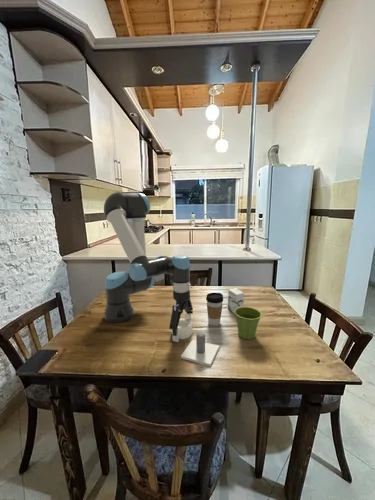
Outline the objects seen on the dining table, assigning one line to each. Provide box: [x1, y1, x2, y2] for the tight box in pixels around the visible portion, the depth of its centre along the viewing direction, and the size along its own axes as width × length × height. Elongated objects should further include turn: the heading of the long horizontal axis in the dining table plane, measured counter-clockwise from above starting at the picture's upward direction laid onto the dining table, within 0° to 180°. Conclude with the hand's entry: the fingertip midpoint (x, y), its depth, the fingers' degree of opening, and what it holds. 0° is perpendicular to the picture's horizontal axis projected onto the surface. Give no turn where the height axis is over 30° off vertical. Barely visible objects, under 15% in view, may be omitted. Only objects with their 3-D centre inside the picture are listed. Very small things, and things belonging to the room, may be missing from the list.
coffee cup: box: [205, 292, 224, 327], centre depth 115 cm, size 8×8×15 cm
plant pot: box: [234, 306, 263, 340], centre depth 104 cm, size 12×12×11 cm
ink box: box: [227, 287, 245, 315], centre depth 128 cm, size 9×5×12 cm, turn 23°
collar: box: [170, 317, 193, 340], centre depth 107 cm, size 9×9×5 cm
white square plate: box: [180, 332, 220, 367], centre depth 92 cm, size 12×12×8 cm
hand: (182, 333), depth 107 cm, fingers open, 13 cm apart
